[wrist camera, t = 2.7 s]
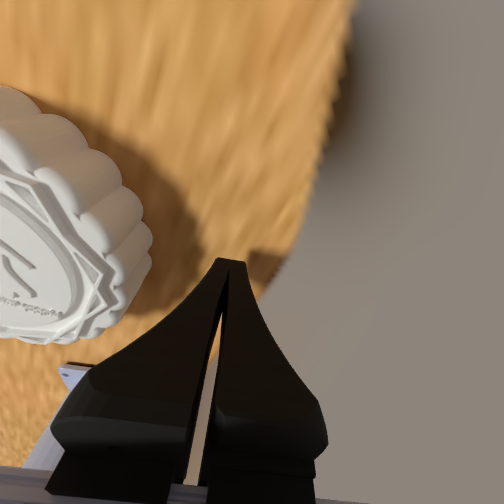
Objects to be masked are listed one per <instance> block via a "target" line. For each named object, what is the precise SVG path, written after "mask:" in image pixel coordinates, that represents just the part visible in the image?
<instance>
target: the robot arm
mask: <svg viewBox="0 0 504 504" xmlns="http://www.w3.org/2000/svg"><path fill="white" fill-rule="evenodd" d="M222 310H223V311H222ZM221 314H222V323H221V336H220V348H219V359H218V367H217V372H216V378H215V385H214V391H213V396H212V402H211V408H210V414H209V420H208V426H207V432H206V438H205V444H204V450H203V456H202V461H201V468H200V473H199V479H198V485H197V486H194V485H184V484H183V481H184V479H185V478H186V474H187V468H188V463H189V458H190V453H191V448H192V442H193V437H194V432H195V427H196V421H197V416H198V410H199V405H200V400H201V395H202V390H203V385H204V380H205V375H206V370H207V365H208V360H209V356H210V352H211V349H212V345H213V342H214V338H215V335H216V331H217V328H218V324H219V321H220V317H221ZM58 372H59V374H60V376H61V377H62V379H63V381H64V383H65V385H66V386H67V388H68V390H69V392H68V394H67V395H66V397H65V399H64V400H63V402H62V403H61V405H60V406H59V408H58V410H57V411H56V413H55V414H54V416H53V418H52V419H51V421H50V422H49V424H48V426H47V427H46V429H45V430H44V432H43V434H42V435H41V437H40V438H39V440H38V441H37V443H36V445H35V446H34V448H33V449H32V451H31V453H30V454H29V456H28V457H27V459H26V461H25V462H24V464H23V465H22V467H21V468H20V467H10V466H1V465H0V504H367V503H358V502H357V503H356V502H348V501H338V500H328V499H319V498H315V492H314V484H313V479H314V478H315V477H316V473H315V472H316V471H315V464H314V460H315V459H316V458H317V457H318V456H319V455H320V454H321V453H322V452H323V451H324V450H325V449H326V447H327V446H328V435H327V430H326V425H325V422H324V418H323V415H322V412H321V408H320V405H319V402H318V400H317V399H316V398H315V396H314V395H313V394H312V393H311V392H310V390H309V389H308V388H307V387H306V385H305V384H304V383H303V381H302V380H301V379H300V378H299V376H298V375H297V374H296V372H295V371H294V369H293V368H292V367H291V365H290V364H289V362H288V361H287V359H286V358H285V356H284V355H283V353H282V351H281V350H280V348H279V347H278V345H277V344H276V342H275V340H274V338H273V337H272V335H271V333H270V331H269V330H268V327H267V325H266V323H265V321H264V319H263V317H262V315H261V313H260V310H259V308H258V305H257V303H256V300H255V298H254V295H253V292H252V289H251V285H250V282H249V278H248V274H247V268H246V263H245V262H243V261H237V260H231V259H225V258H219V257H218V258H216V259H215V261H214V263H213V265H212V266H211V268H210V269H209V271H208V272H207V274H206V275H205V276H204V277H203V279H202V280H201V281H200V282H199V284H198V285H197V286H196V287H195V288H194V290H193V291H192V292H191V293H190V294H189V295H188V296H187V297H186V298H185V299H184V300H183V301H182V302H181V303H180V304H179V305H178V306H177V307H176V308H175V309H174V310H173V311H172V312H171V313H170V314H168V315H167V316H166V317H165V318H164V319H162V320H161V321H160V322H159V323H158V324H156V325H155V326H154V327H153V328H151V329H150V330H149V331H147V332H146V333H145V334H143V335H142V336H140V337H139V338H138V339H136V340H135V341H133V342H132V343H130V344H129V345H128V346H126V347H125V348H123V349H122V350H120V351H119V352H117V353H115V354H114V355H112V356H110V357H109V358H107V359H105V360H104V361H102V362H101V363H99V364H97V365H96V366H94V367H84V366H77V365H69V364H62V365H60V367H59V368H58Z"/></svg>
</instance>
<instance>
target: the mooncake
mask: <svg viewBox="0 0 504 504" xmlns="http://www.w3.org/2000/svg"><path fill="white" fill-rule="evenodd" d="M142 217H143V206H142V203H141V201H140V199H139V198H138V196H137V195H136V194H135V193H134V192H133V191H131V190H130V189H128V188H127V187H125V186H122V176H121V173H120V170H119V169H118V167H117V165H116V164H115V163H114V161H113V160H112V159H111V158H110V157H108V156H107V155H106V154H104V153H102V152H100V151H98V150H95V149H90V148H89V146H88V143H87V141H86V139H85V137H84V135H83V134H82V133H81V131H80V130H79V129H78V128H77V127H76V126H75V125H74V124H73V123H72V122H70V121H69V120H67V119H66V118H64V117H62V116H59V115H55V114H43V113H42V112H41V110H40V109H39V108H38V106H37V105H36V104H35V103H34V102H33V101H32V100H31V99H30V98H29V97H28V96H26V95H25V94H23V93H22V92H20V91H18V90H16V89H13V88H10V87H6V86H0V338H6V339H7V338H18V339H19V340H22V341H24V342H27V343H31V344H43V345H48V344H49V343H51V342H54V343H58V344H71V343H74V342H76V341H78V340H79V339H80V338H82V339H93V338H96V337H98V336H100V335H101V334H102V333H103V332H104V331H105V329H106V328H108V327H112V326H115V325H116V324H118V323H119V322H120V320H121V319H122V317H123V316H124V314H125V312H126V311H127V309H128V307H129V306H130V304H131V302H132V301H133V299H134V297H135V296H136V294H137V292H138V291H139V289H140V287H141V285H142V283H143V280H144V278H145V277H146V275H147V274H148V272H149V270H150V268H151V266H152V259H151V256H150V255H149V253H148V250H149V249H150V247H151V245H152V242H153V236H152V233H151V231H150V229H149V228H148V226H147V225H146V224H145V223H143V222H142V221H141V219H142Z"/></svg>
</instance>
